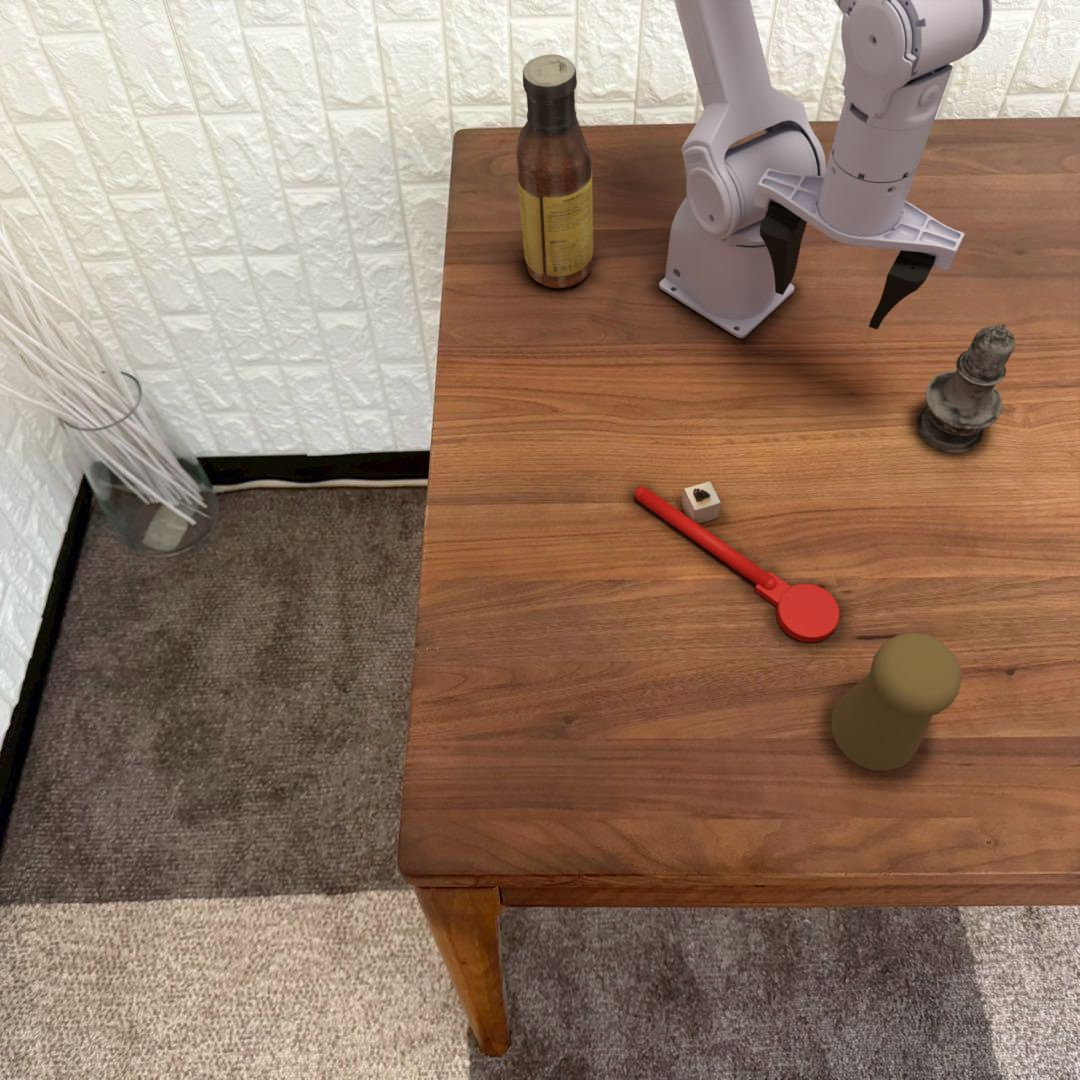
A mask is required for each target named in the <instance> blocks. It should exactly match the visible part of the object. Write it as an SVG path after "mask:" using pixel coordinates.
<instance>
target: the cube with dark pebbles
mask: <svg viewBox="0 0 1080 1080" xmlns="http://www.w3.org/2000/svg"><path fill="white" fill-rule="evenodd" d="M721 504H722V502H721V500H720V498H719V496H718V494H717V492H716V490H715V488H714V486H713V484H712V482H711V481H710V480H709V481H705V482H702V483H699V484H696V485H692V486H688V487H685V488H684V489H683V494H682V498H681V507H682V509H683V512H684V513H685V515H686V516H687V517H688V518H690V519H691V520H693V521H694V522H696V523H697V524H698V525H701V524H703V523H706V522H709V521H713V520H717V519H718V517H719V512H720V508H721Z"/></svg>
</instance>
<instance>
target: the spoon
mask: <svg viewBox="0 0 1080 1080" xmlns="http://www.w3.org/2000/svg"><path fill="white" fill-rule="evenodd" d="M634 498H635V500H636V501H637V502H638V503H640V504H641V505H643V506H644V507H646V508H647V509H648V510H650V511H652V512H653V513H654V514H655V515H657V516H658V517H660V518H661V519H662V520H664V521H665V522H667V523H668V524H669V525H671V526H673V527H674V528H675V529H677V530H678V531H679V532H681V533H682V534H684V535H685V536H686V537H688V538H689V539H691V540H692V541H694V542H695V543H696V544H698V545H700V546H701V547H702V548H703V549H705V550H706V551H708V552H709V553H711V554H712V555H713V556H715V557H716V558H717V559H719V560H720V561H722V562H723V563H724V564H726V565H727V566H729V567H730V568H731V569H733V570H734V571H736V572H737V573H739V575H742V576H743V577H744V578H746V579H747V580H748V581H750V582H751V583H752V584H754V585H755V587H754V593H757V594H758V595H759V596H761V597H762V598H764V599H765V600H766V601H767V602H769V603H770V604H772V605H773V606H775V608H776V619H777V622H778V624H779V626H780V627H781V629H782V630H783V632H785V633H786V634H787V635H789V636H790V637H791V638H793V639H795V640H797V641H800V642H803V643H817V642H821V641H823V640H825V639H827V638H829V637H830V636H831V635H832V634H833V633H834V632H835V630H836V628H837V626H838V624H839V621H840V608H839V605H838V602H837V600H836V599H835V598H834V596H833V595H832V594H831V593H830V592H829V591H827V590H826V589H825V588H823V587H821V586H820V585H816V584H812V583H798V584H794V585H793V586H792V585H790V584H788V583H787V582H786V581H785V580H783V579H781V578H780V577H779V576H777V575H776V574H775V573H773V572H772V571H765V570H764V569H762V567H759V566H758V565H757V564H755V563H754V562H752V561H751V560H750V559H749V558H747V557H745V556H744V555H743V554H742V553H740V552H738V551H737V550H736V549H735V548H733V547H732V546H730V545H728V544H727V543H725V542H724V541H723V540H722V539H720V538H719V537H717V536H716V535H714V534H713V533H711V532H710V531H708V530H707V529H706V528H704V527H703V526H701V524H697V523H696V522H694V521H693V520H691V519H690V518H688V517H687V515H686V514H684V513H683V512H681V511H680V510H679V509H678V508H676V507H674V506H673V505H672V504H670V503H668V501H666V500H664V499H663V498H662V497H660V496H658V495H657V494H655V493H654V492H653V491H651V490H650V489H649V488H647V487H645V486H639V487H637V488H636V489H635V491H634Z"/></svg>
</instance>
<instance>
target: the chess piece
mask: <svg viewBox="0 0 1080 1080" xmlns="http://www.w3.org/2000/svg"><path fill="white" fill-rule="evenodd" d="M1015 347H1016V339H1015V336H1014V335H1013V333H1012V332H1011V331H1010V330H1009V329H1008V328H1007V326H1006V324H1005V323H1002V324H999V325H987V326H984V327H982V328H980V329H979V330H978V331H977V332H976V333H975V335H974V336H973V339H972V340H971V342H970V345H969V347H968V349H967V350H966V351H963V352H962V353H961V354H959V356H958V357H957V358H956V361H955V362H956V363H955V364H956V365H955V367H956V370H950V371H945V372H942V373H939V374H937V375H936V376H935V377H933V378H932V379H931V380H930V381H929V383H928V385H927V386H926V389H925V394H924V395H925V402H926V405H925V406H924V407H922V408H921V409H920V411H919V412H918V413H917V416H916V421H915V422H916V429H917V431H918V434H919V435H920V437H921V438H922V439H923V441H924V442H926V443H927V444H928V445H930V446H931V447H932V448H935V449H937V450H939V451H941V452H944V453H949V454H960V453H966V452H969V451H972V450H973V449H974V448H976V447H977V446H979V444H980V442H981V441H982V439H983V436H984V430H985V429H986V428H987V427H990V426H992V425H993V424H994V423H995V422H997V421H998V419H999V418H1000V417H1001V414H1002V413H1003V406H1004V404H1003V399H1002V396H1001V394H1000V392H999V391H998V389H997V388H996V387H995V386H996V385H998V384H1000V383H1001V382H1002V381H1004V379H1005V377H1006V374H1007V367H1006V365H1007V362H1008V361H1009V359H1010V357H1011V356H1012V354H1013V352H1014V350H1015Z"/></svg>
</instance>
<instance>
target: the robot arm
mask: <svg viewBox="0 0 1080 1080" xmlns="http://www.w3.org/2000/svg"><path fill="white" fill-rule="evenodd" d="M833 1H834V2H835V4H836V6H837V7H838V9H839V10H840V11H841V13H842V14H843V15H842V19H841V28H840V29H841V30H840V31H841V35H840V36H841V45H842V51H843V54H844V59H845V69H844V74H843V79H842V82H841V85H842V86H843V95H844V100H843V104H842V108H841V112H840V115H839V118H838V123H837V127H836V130H835V135H834V138H833V142H832V146H831V149H830V153H829V157H828V161H827V160H826V156H825V151H824V149H823V146H822V143H821V142H820V140H819V138H818V137H817V136H816V134H815V132H814V131H813V129H812V126H811V125H810V123H809V119H808V115H807V111H806V108H805V104H804V103H803V102H802V101H800V100H799V99H797V98H796V97H795V98H794V97H793V96H790V95H789V94H786V93H784V92H782V91H780V90H778V89H776V88H775V87H773V85H772V82H771V78H770V74H769V70H768V66H767V61H766V59H765V55H764V51H763V47H762V41H761V38H760V34H759V30H758V27H757V22H756V18H755V14H754V10H753V6H752V1H751V0H673V3H674V6H675V9H676V12H677V17H678V20H679V23H680V27H681V31H682V35H683V38H684V42H685V46H686V49H687V53H688V56H689V60H690V64H691V67H692V70H693V75H694V78H695V81H696V87H697V90H698V93H699V96H700V100H701V104H702V107H703V112H702V113H701V115H700V117H699V119H698V120H697V122H696V123H695V125H694V127H693V129H692V130H691V132H690V133H689V135H688V136H687V138H686V139H685V141H684V143H683V145H682V147H681V148H680V151H681V155H682V159H683V163H684V168H685V169H684V170H685V174H686V177H685V178H686V184H685V185H686V186H685V192H686V193H685V194H686V196H685V198H684V199H683V201H682V202H681V204H680V205H679V207H678V209H677V211H676V213H675V216H674V218H673V221H672V224H671V227H670V233H669V241H668V247H667V248H668V249H667V257H666V266H665V274H664V278H662V279H661V280H660V281H659V283H658V288H659V289H660V291H661V290H662V291H663V292H665V293H666V294H668V295H669V296H671V297H673V298H674V299H676V300H677V301H679V302H680V303H682V304H684V305H685V306H686V307H688V308H690V309H691V310H693V311H695V312H696V313H698V314H699V315H701V316H703V317H704V318H706V319H707V320H709V321H711V322H712V323H714V325H717V326H719V327H720V328H722V329H723V330H725V331H727V332H728V333H729V334H731V335H732V336H734V337H736V338H738V339H745V338H746V337H747V336H748V335H749V334H750V333H752V332H753V330H755V328H757V327H758V326H759V325H760V324H761V323H762V322H763V321H764V320H765V319H767V317H769V316H770V315H771V314H772V313H773V312H774V311H775V310H776V309H777V308H778V307H779V306H780V305H781V304H783V302H784V301H786V300H788V298H789V297H790V296H791V295H792V294H793V293H794V291H795V285H794V284H792V283H791V282H792V281H793V279H794V276H795V273H796V270H797V268H798V267H797V266H798V261H799V256H800V250H801V245H802V240H803V237H804V235H805V231H806V228H807V224H809V225H810V226H812V227H814V229H817V230H818V231H819V232H820V233H822V234H824V235H825V236H827V237H828V238H830V239H832V240H833V241H836V242H838V243H841V244H843V245H848V246H853V247H863V248H873V249H883V250H891V251H892V250H893V251H899V253H898V254H897V256H896V258H895V260H894V262H893V264H892V265H891V267H890V269H889V271H888V273H887V275H886V278H885V282H884V286H883V290H882V294H881V297H880V300H879V302H878V304H877V307H876V308H875V310H874V312H873V314H872V316H871V318H870V321H869V325H868V327H869V328H871V329H874V330H878V329H880V327H881V324H882V323H883V320H884V319H885V318H886V316H887V315H888V314H889V313H890V312H891V311H892V309H894V308H895V306H897V305H898V304H899V303H900V302H901V301H902V300H904V299H905V298H907V297H908V296H909V295H911V294H913V293H915V292H916V291H917V290H919V288H921V287H922V285H924V283H925V282H926V281H927V279H928V276H929V274H930V272H931V271H932V269H933V267H934V268H936V269H939V270H942V271H944V272H948V271H949V270H950V267H951V266H952V264H953V262H954V260H955V257H956V256H957V253H958V251H959V249H960V246H961V244H962V241H963V240H964V237H965V235H966V233H965V232H962V231H959V230H957V229H954V228H953V227H951V226H948V225H947V224H944V223H942V222H941V221H939V220H938V219H935V218H934V217H932V216H931V215H930V214H928V213H926V212H925V211H923V210H922V209H920V208H918V207H917V206H915V205H914V204H912V203H910V202H909V201H907V198H908V196H909V193H910V189H911V187H912V184H913V182H914V179H915V176H916V172H917V170H918V167H919V164H920V162H921V159H922V156H923V154H924V151H925V148H926V146H927V142H928V139H929V136H930V133H931V131H932V129H933V125H934V123H935V119H936V117H937V113H938V112H939V108H940V105H941V102H942V99H943V97H944V94H945V92H946V88H947V85H948V83H949V80H950V77H951V74H952V71H953V68H954V66H953V64H952V63H954V62H956V61H959V60H961V59H963V58H964V57H966V56H967V55H969V54H971V53H973V52H974V51H975V50H976V49H978V47H980V45H981V44H982V43H983V42H984V39H985V37H986V36H987V33H988V31H989V28H990V24H991V21H992V14H993V13H992V12H993V0H833ZM761 131H764V132H765V133H763V134H760V135H758V136H756V137H754V138H751V139H748V140H746V141H743V142H742V143H739V144H737V145H734V146H732V145H733V144H735V143H737V142H738V141H740V140H743V139H745V138H747V137H750V136H752V135H754V134H757V133H759V132H761ZM731 146H732V147H731ZM826 161H827V162H826Z"/></svg>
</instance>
